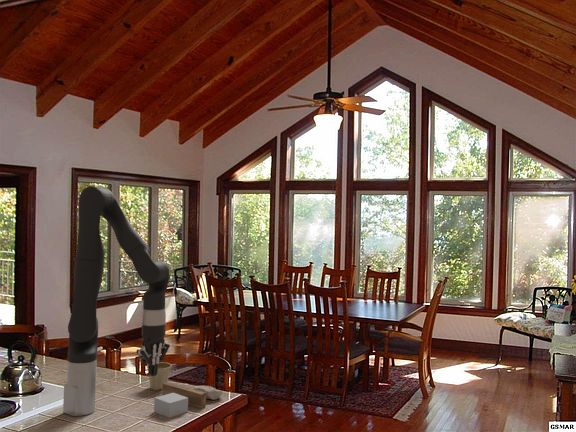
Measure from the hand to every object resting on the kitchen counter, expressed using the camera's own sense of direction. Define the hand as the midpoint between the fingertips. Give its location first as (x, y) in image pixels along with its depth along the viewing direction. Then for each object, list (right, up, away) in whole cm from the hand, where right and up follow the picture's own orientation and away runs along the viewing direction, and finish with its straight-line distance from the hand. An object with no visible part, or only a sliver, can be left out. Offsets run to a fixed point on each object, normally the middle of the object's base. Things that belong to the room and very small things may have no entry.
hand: (152, 375), depth 191 cm
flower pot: (-6, -14, +33) cm, 37 cm away
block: (+4, -15, +7) cm, 17 cm away
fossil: (+14, -15, +24) cm, 31 cm away
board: (+7, -14, +18) cm, 24 cm away
